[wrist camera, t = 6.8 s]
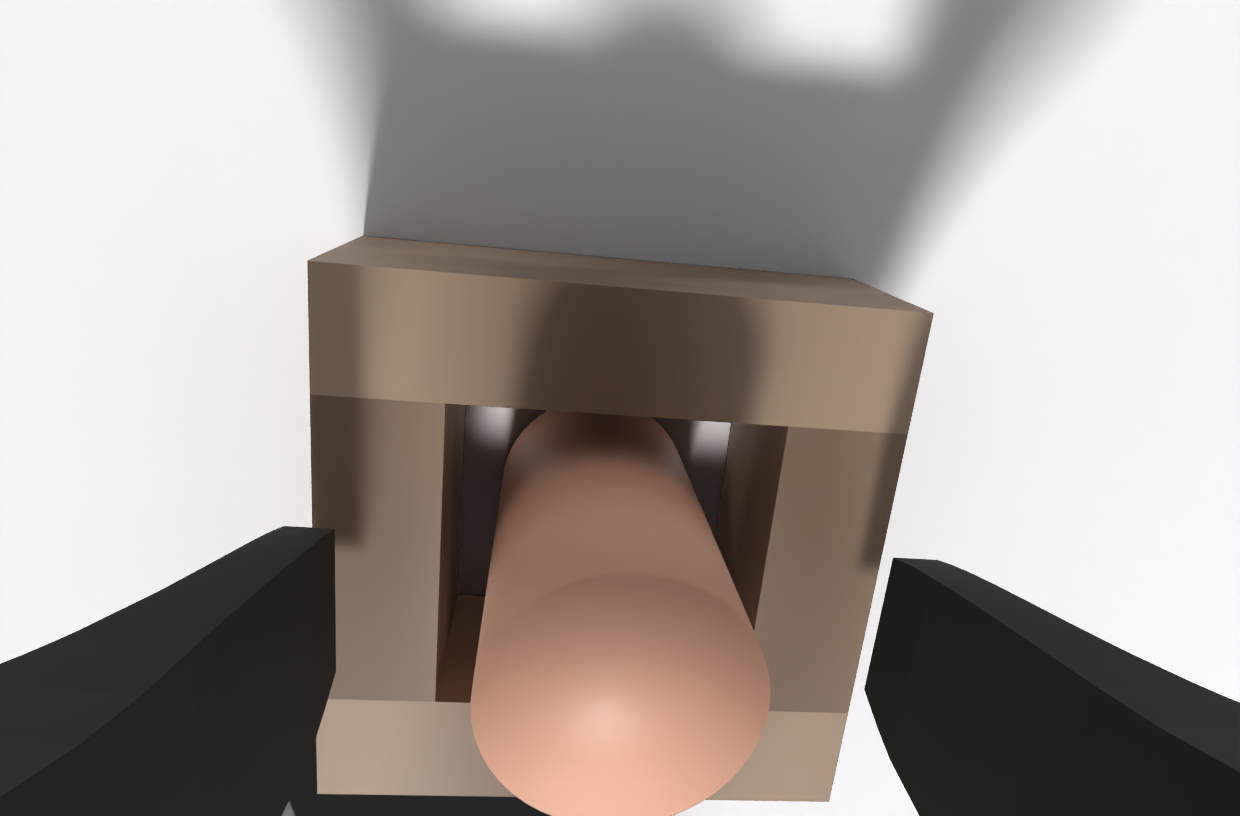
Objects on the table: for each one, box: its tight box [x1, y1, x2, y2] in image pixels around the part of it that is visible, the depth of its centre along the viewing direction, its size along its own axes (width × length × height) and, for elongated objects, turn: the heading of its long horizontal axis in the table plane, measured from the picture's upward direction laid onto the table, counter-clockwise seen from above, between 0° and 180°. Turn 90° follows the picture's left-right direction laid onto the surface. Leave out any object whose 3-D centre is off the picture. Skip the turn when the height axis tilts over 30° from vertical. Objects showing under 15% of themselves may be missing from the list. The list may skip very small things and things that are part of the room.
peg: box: [470, 410, 771, 816], centre depth 11 cm, size 3×3×6 cm
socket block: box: [308, 236, 934, 802], centre depth 13 cm, size 8×8×3 cm
